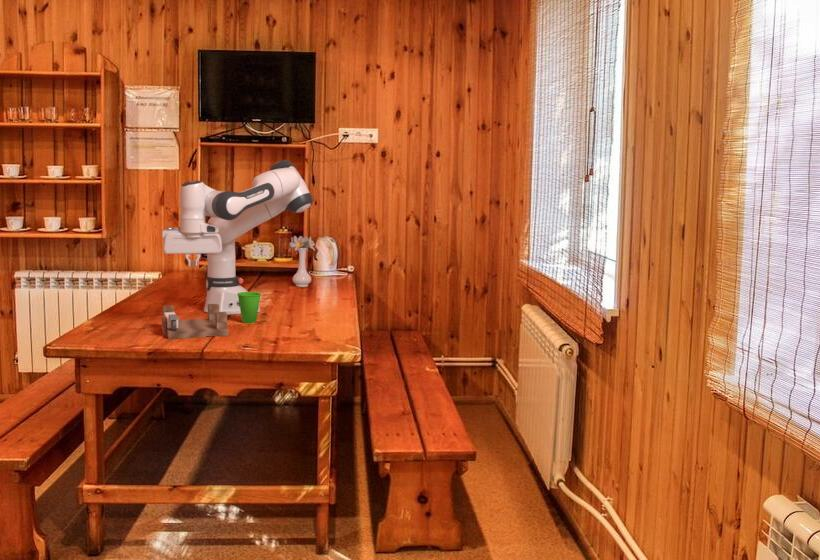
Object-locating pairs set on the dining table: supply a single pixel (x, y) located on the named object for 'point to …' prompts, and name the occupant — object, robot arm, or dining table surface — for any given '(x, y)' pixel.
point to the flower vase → (302, 260)
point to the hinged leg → (170, 318)
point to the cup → (249, 306)
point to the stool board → (197, 324)
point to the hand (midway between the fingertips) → (192, 266)
